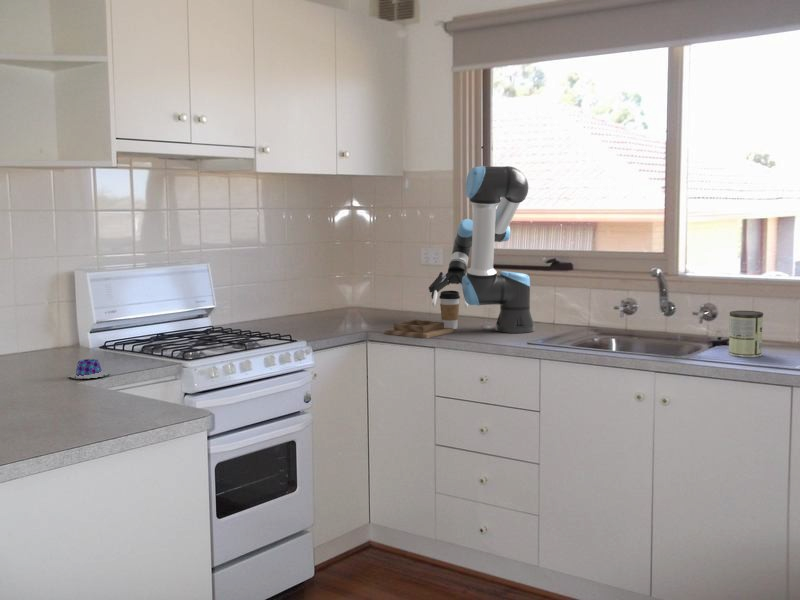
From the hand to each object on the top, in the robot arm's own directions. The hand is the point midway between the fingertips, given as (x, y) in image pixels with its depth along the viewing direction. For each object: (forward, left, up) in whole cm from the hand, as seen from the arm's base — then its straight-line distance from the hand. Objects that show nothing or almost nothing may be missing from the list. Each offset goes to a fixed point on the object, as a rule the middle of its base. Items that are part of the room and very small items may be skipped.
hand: (449, 305), depth 359 cm
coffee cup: (-1, +2, -9) cm, 10 cm away
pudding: (+35, +144, -10) cm, 148 cm away
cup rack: (+2, +19, -9) cm, 21 cm away
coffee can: (-116, -1, -9) cm, 117 cm away
